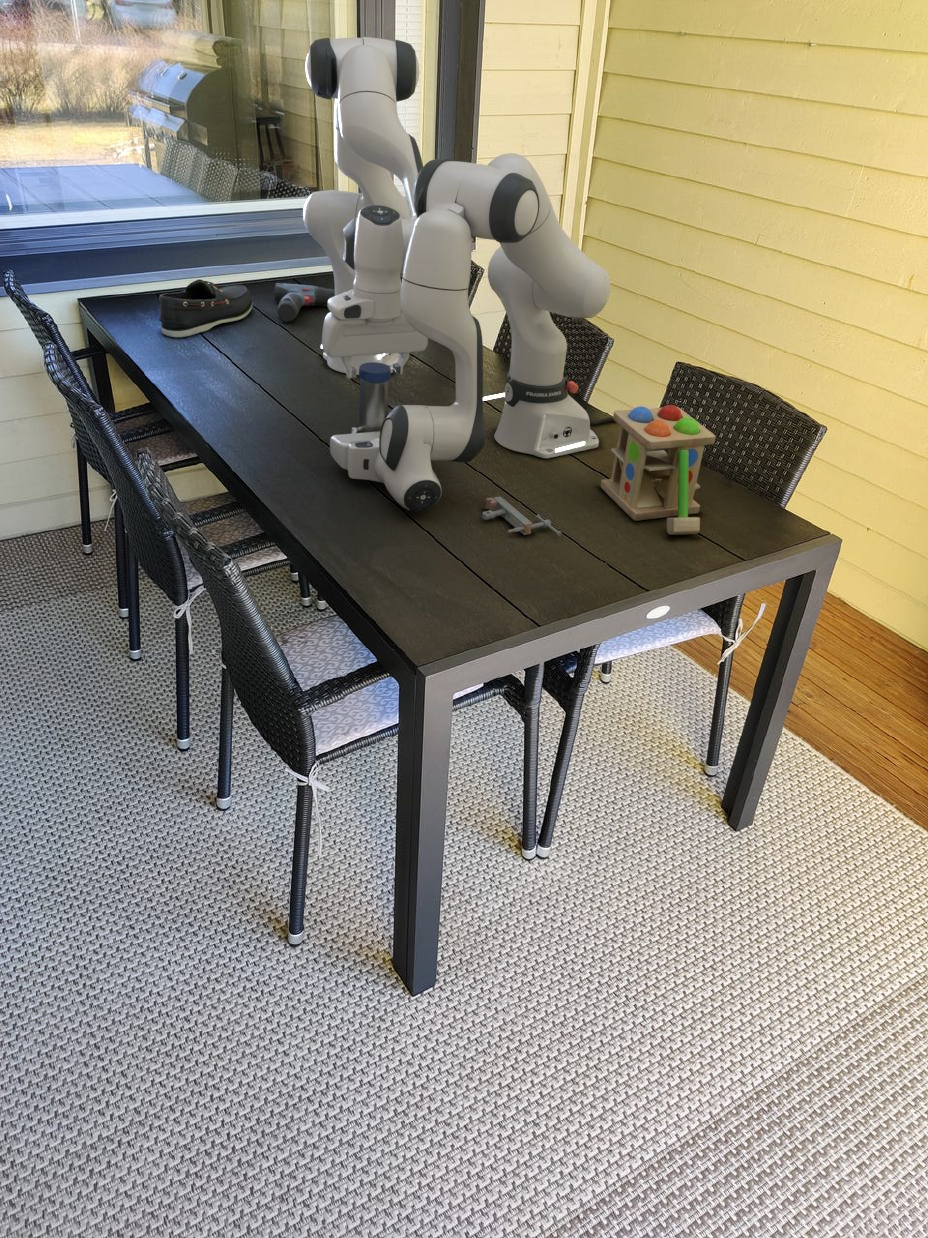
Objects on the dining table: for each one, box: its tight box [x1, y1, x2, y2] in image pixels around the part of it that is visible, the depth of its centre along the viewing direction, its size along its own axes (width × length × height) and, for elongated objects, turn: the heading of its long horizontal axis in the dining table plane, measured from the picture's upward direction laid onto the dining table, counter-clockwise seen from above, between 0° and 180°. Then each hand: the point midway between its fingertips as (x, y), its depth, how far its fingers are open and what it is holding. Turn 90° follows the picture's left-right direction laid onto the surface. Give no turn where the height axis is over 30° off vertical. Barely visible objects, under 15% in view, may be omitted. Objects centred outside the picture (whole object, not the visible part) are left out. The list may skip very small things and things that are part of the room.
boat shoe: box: [158, 278, 254, 338], centre depth 253 cm, size 13×33×10 cm, turn 147°
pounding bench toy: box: [599, 404, 716, 536], centre depth 182 cm, size 23×14×18 cm, turn 20°
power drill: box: [274, 282, 335, 322], centre depth 265 cm, size 5×19×20 cm
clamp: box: [481, 496, 563, 537], centre depth 177 cm, size 15×2×10 cm
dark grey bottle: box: [358, 378, 390, 433], centre depth 192 cm, size 5×5×18 cm
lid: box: [358, 362, 392, 383], centre depth 187 cm, size 6×6×2 cm
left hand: (374, 375), depth 187 cm, fingers open, 8 cm apart
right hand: (371, 429), depth 195 cm, fingers closed on dark grey bottle, 5 cm apart
